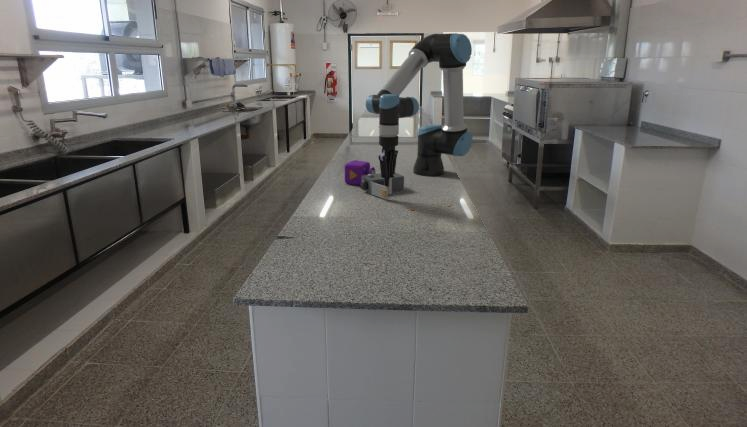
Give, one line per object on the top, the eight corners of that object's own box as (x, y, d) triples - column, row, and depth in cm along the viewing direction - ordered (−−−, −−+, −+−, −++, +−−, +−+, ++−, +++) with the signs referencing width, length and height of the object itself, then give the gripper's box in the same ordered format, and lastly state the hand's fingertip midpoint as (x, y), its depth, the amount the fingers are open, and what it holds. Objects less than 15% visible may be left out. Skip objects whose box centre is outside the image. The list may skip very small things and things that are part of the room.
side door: (388, 199, 197) (388, 186, 195) (385, 200, 196) (385, 187, 194) (371, 193, 205) (372, 181, 203) (369, 194, 204) (369, 181, 202)
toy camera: (373, 187, 216) (373, 165, 212) (343, 185, 218) (342, 163, 215) (377, 181, 226) (378, 159, 222) (349, 179, 228) (348, 158, 225)
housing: (393, 184, 219) (393, 170, 217) (403, 189, 212) (404, 174, 210) (358, 189, 212) (358, 174, 210) (367, 194, 204) (367, 179, 202)
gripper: (387, 131, 197) (386, 188, 205) (372, 137, 186) (372, 196, 194) (404, 133, 194) (402, 190, 202) (390, 138, 183) (389, 198, 191)
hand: (387, 193), depth 198 cm, fingers closed
